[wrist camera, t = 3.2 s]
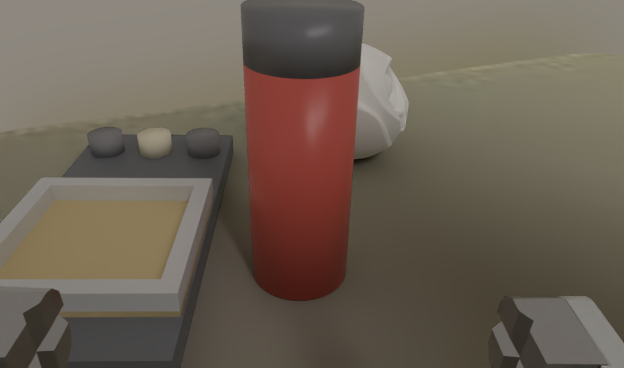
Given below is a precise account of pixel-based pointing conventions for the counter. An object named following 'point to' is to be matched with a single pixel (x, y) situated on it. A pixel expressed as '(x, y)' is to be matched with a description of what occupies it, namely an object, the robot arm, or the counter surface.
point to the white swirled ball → (378, 104)
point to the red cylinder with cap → (301, 139)
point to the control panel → (122, 242)
